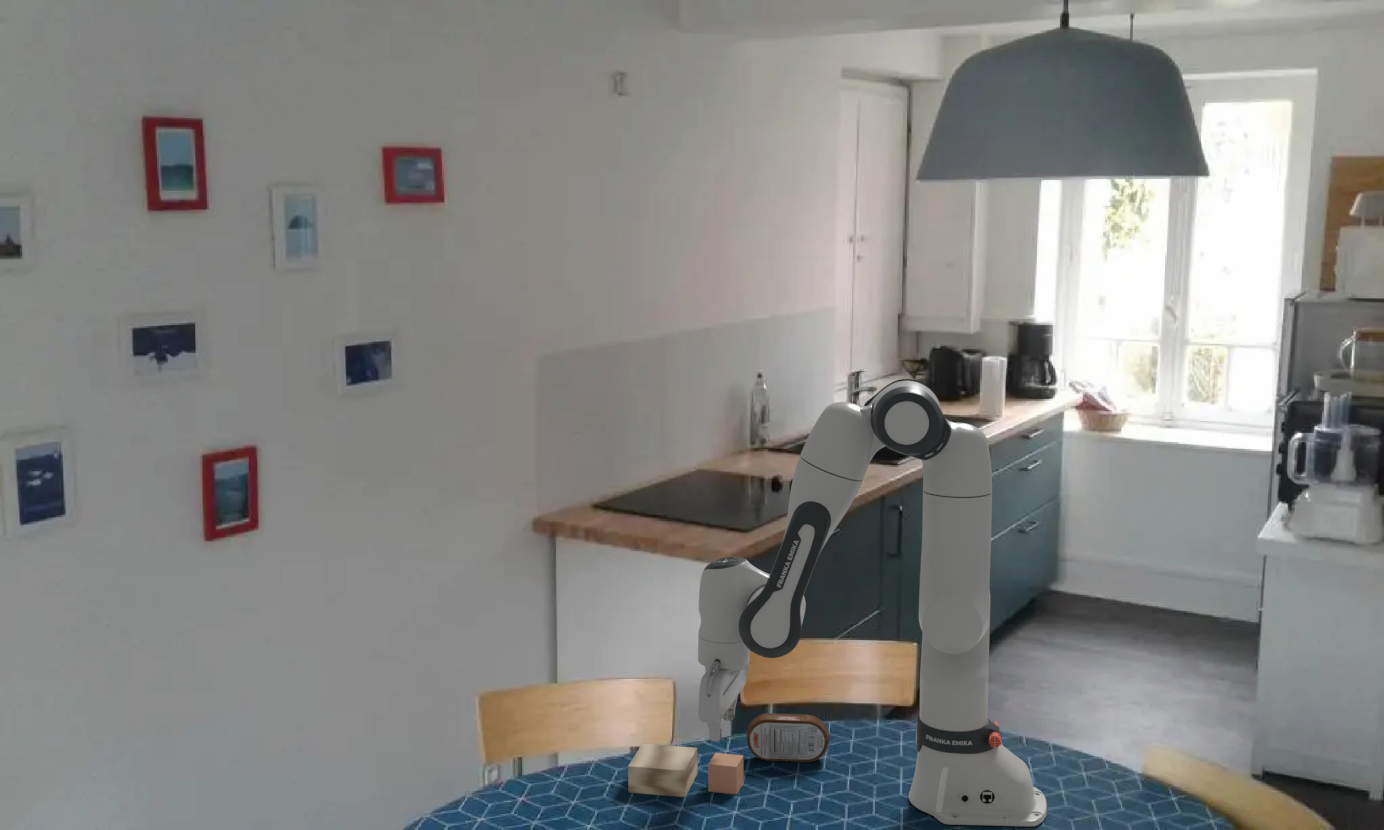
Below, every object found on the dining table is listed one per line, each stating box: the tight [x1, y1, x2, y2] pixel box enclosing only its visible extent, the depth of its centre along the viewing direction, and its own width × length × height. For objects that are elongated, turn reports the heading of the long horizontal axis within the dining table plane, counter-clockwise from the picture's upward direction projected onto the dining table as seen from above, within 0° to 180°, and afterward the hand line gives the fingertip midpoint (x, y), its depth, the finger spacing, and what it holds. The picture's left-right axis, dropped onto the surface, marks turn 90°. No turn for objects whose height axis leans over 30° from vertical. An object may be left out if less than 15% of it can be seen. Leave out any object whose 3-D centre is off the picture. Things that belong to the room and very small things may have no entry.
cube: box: [707, 752, 745, 795], centre depth 218 cm, size 5×5×5 cm
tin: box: [745, 712, 830, 763], centre depth 229 cm, size 15×3×8 cm, turn 84°
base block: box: [627, 743, 698, 798], centre depth 220 cm, size 10×10×5 cm
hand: (722, 729), depth 218 cm, fingers open, 8 cm apart
